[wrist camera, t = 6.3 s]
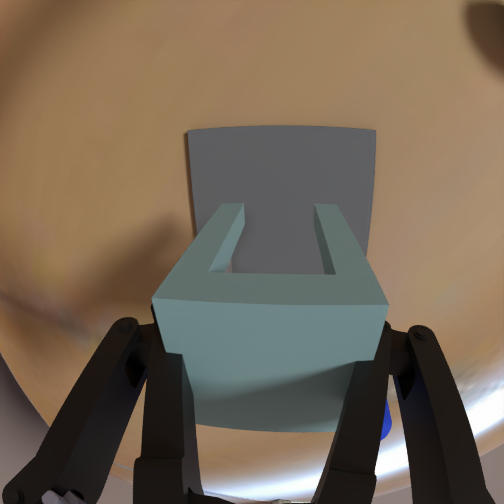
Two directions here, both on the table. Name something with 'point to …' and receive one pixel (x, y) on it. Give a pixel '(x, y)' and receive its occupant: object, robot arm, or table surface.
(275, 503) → the grey stone block
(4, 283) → the table surface
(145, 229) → the table surface
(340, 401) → the slotted teal block
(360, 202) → the mat
